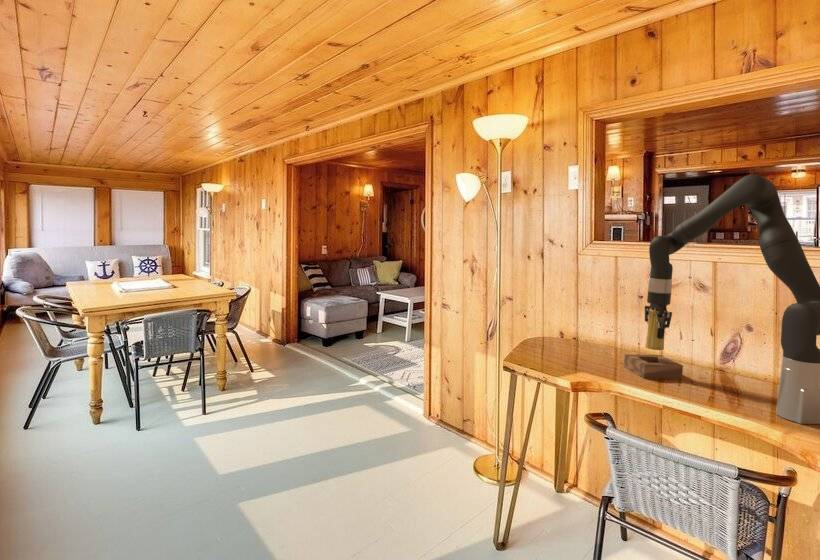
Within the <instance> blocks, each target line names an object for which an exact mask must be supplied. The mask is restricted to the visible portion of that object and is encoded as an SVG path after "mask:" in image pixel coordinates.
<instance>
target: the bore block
mask: <svg viewBox="0 0 820 560" xmlns="http://www.w3.org/2000/svg"><path fill="white" fill-rule="evenodd" d="M623 361H624V362H623V364H624V365H623V367H624V368H625V369H626V370H627V371H630V372H631V373H633V374H635V375H637V376H639V377H640V378H642V379H643V380H644V379H649V380H653V379H654V380H659V379H660V380H682V379H683V370H684V365H682V364H680V363H679V362H676V361H674V360H673V359H670V358H668V357H666V356H663V355H662V354H632V353H631V354H629V353H628V354H624V360H623Z"/></svg>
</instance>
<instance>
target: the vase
mask: <svg viewBox="0 0 820 560" xmlns="http://www.w3.org/2000/svg"><path fill="white" fill-rule="evenodd" d="M656 312H657V313H658V312H659V311H656ZM658 318H659V316H658ZM662 318H663V317H661V318H659V319H662ZM648 319H649V323H648V324H647V331H646V343H645V346H644V347H645V348H646V349H648V350H653V351H663V350H665V337H664V338H663V339H659V338H657V329H658V325H657V322H656V314H655V311H654V310H651V309H650V314H649V318H648ZM660 323H661V322H660ZM664 333H665V331H664Z"/></svg>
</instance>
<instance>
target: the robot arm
mask: <svg viewBox="0 0 820 560" xmlns="http://www.w3.org/2000/svg"><path fill="white" fill-rule="evenodd" d="M744 205H745V206H747V208H748V209H749V210H750V212H751V213H752V215H753V217H754V219H755V222H756V224H757V229H758V243H759V248H760V251H761V254H762V256H763V258H764V262H765V263H766V265H767V267H768V269H769V270H770V271H771V272H772V273H773V274H774V275H775V276H776V277H777V278H778V279H779V280H780V282H782V283H783V284H784V285H785V286H786V287H787V288H788V290H790V292H791V293H792V295H793V296H794V297H793V298H795V301H796V303H795V302H794V303H792V304H791V303H790V304H789V305H788V306H787V307H786V309H784V312H783V315H782V318H781V330H780V332H781V333H780V346H781V348H782V359H781V368H780V375H779V384H778V392H777V399H776V409H775V414H776V415H777V416H778V415H779V416H778V417H780V418H782V419H785V420H788V421H792V422H796V424H797V423H798V424H799V425H800V424H803V425H804V424H805V425H806V424H807V425H811V424H813V425H815V424H816V425H818V424H819V425H820V348H819V347H818V346H817V336H820V284H819V281H818V280H817V278H816V276H815V273H814V271H813V270H812V268H811V265H810V263H809V261H808V259H807V257H806V254H805V252H804V249H803V247H802V246H801V245H802V244H801V242H800V241H799V239H798V237H797V235H796V233H795V231H794V229H793V227H792V225H791V223H790V222H789V220H788V219H787V216H786V214H785V212H784V209H783V207H782V203H781V200H780V196H779V193H778V190H777V187H776V185H775V184H774V183H773V182H772V181H771V180H769V179H767V178H766V177H764V176H763V175H759V174H756V173H755V174H754V173H753V174H751V173H750V174H748V175H745V176H743V177H742V178H740V179H739V180H737V181H736V182H735V183H733V184H732V185H731V186H730V187H729V188H728V189H727V190H726V191H724V192H723V193H722V194H720V195H719V196H718V197H716V199H714V200H713V201H712V202H710V203H708V205H707V206H706V207H704V208H703V209H701V210H700V211H698V212H697V213H694V214H693V215H692V216H691V217H689V218H687V219H685V220H684V221H682V222H681V223H679V224H678V225H676V227H675V228H674V230H673V231H671V232H670V233H668V234H666V235H657V236H655V237H654V238H652V240H651V241H650V242H649V247H648V249H649V250H648V253H649V254H648V255H649V262H650V273H649V274H650V275H649V281H648V285H647V286H648V289H647V299H646V301H647V303H648V304H649V305H644V322H645V323H646V322H647V323H646V324H647V325H648V323H649V314H650V309H651V310H654V311H655V314H656V322H657V325H658V329H657V338H659V339H663V338H664V339H665V332H664V331H665V329H667V328H670V325H671V321H672V316H673V312H672V311H668V310H667V306H670V304H671V298H672V288H673V271H674V270H673V269H674V268H673V265H672V263H671V262H670V256H671V255H673V254H675V253H677V252H678V251H680V250H681V249H683V248H684V247H685V246H686V245H688V244H689V243H690V242H692V241H695V239H697V238H700V237H701V236H702V235H704V234H705V233H707V232H709V231H710V230H711V229H712V228H713V227H714V226H716V224H717V223H718V222H720V220H721V219H722V218H724V217H725V216H726V215H727V214H729V213H731V212H732V211H733V210H735V209H737V208H739V207H741V206H744ZM656 311H659V312H658V313H657V312H656ZM658 316H659V318H661V317H663V318H662V319H659V318H658ZM660 322H661V323H660Z"/></svg>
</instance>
